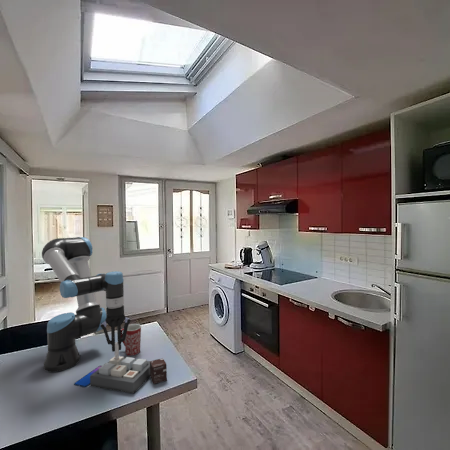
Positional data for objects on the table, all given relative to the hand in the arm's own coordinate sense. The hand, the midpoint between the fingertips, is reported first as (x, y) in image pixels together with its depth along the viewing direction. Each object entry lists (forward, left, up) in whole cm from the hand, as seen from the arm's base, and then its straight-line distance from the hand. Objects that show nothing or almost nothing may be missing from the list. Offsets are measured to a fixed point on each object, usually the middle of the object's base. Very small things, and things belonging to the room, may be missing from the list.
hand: (116, 357), depth 120 cm
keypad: (+6, -3, -7) cm, 10 cm away
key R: (+6, 0, -4) cm, 7 cm away
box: (+21, 0, -7) cm, 22 cm away
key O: (0, -6, -4) cm, 7 cm away
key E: (+12, 0, -4) cm, 12 cm away
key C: (+12, -6, -5) cm, 14 cm away
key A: (0, 0, -4) cm, 4 cm away
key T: (+6, -6, -4) cm, 9 cm away
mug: (-6, +19, -7) cm, 21 cm away
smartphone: (-9, -5, -8) cm, 13 cm away
